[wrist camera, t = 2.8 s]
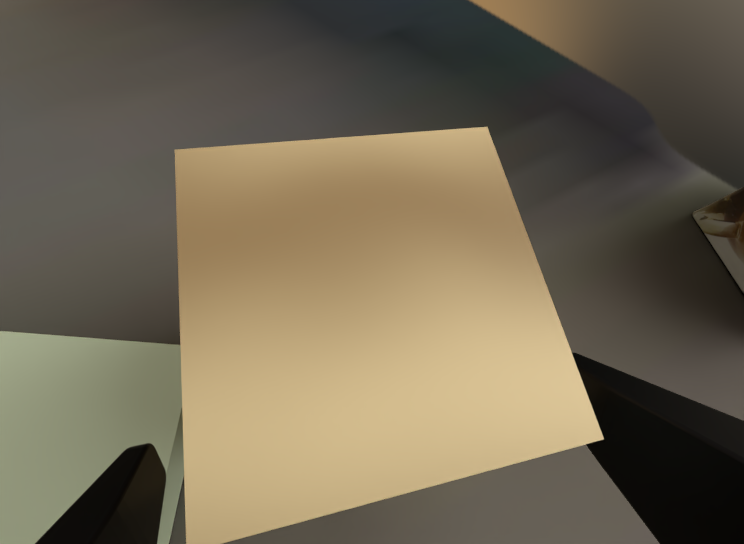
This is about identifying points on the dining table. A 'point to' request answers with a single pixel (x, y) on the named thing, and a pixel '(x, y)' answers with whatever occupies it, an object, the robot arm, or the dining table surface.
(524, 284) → the oak brick
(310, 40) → the dining table surface
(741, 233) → the coffee box
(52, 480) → the sage baseplate
